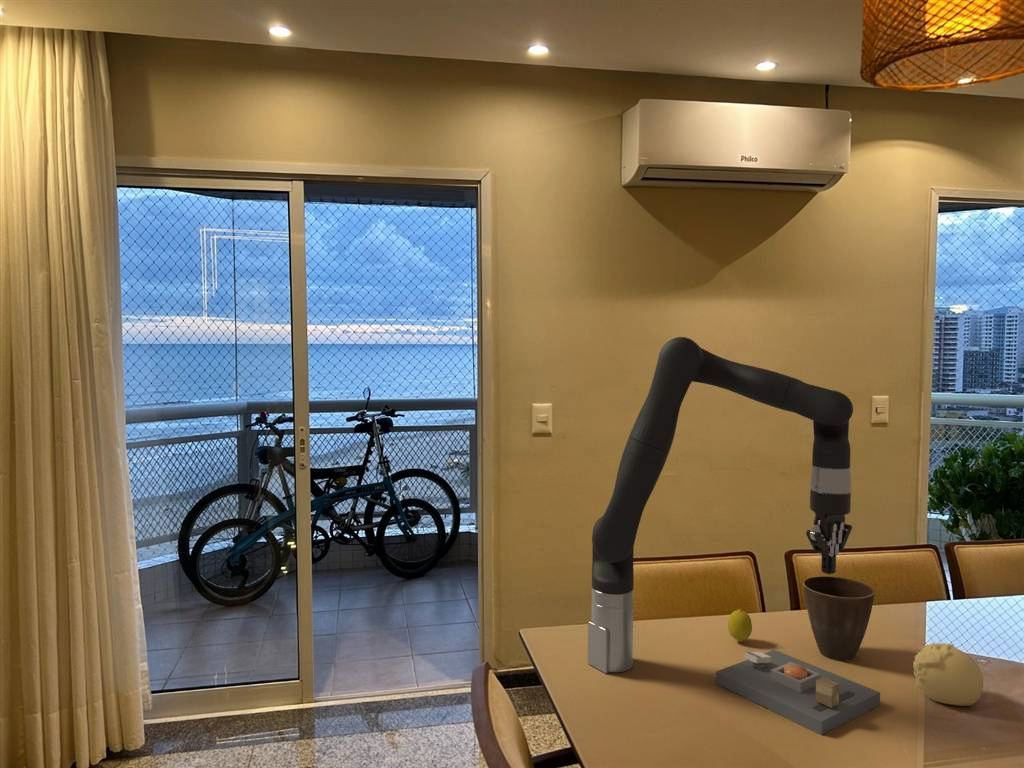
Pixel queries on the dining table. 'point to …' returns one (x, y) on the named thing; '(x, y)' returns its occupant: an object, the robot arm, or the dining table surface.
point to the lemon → (739, 625)
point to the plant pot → (838, 614)
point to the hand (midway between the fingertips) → (828, 572)
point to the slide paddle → (827, 692)
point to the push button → (795, 671)
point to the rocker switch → (757, 657)
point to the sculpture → (948, 675)
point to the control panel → (797, 692)
